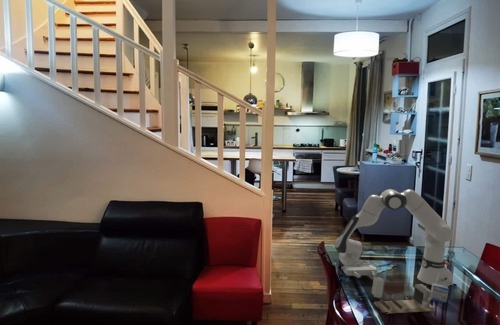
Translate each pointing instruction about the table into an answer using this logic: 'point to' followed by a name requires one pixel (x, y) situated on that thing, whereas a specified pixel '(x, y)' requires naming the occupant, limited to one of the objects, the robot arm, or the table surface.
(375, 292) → the white tall block
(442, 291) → the medicine box
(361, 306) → the table surface
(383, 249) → the table surface
